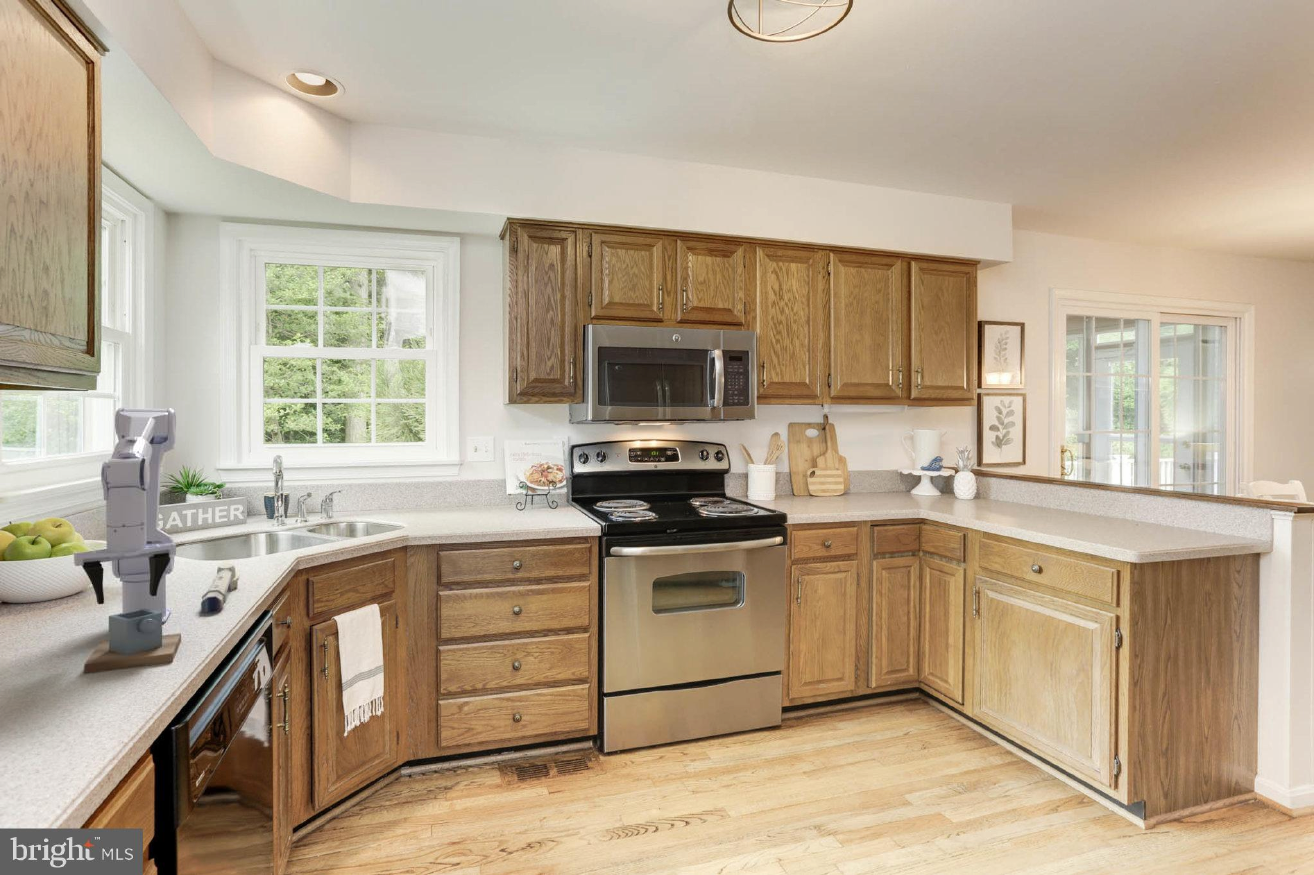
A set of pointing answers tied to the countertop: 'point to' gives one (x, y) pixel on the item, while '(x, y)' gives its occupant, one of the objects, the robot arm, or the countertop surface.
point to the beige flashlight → (220, 588)
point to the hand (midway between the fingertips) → (127, 598)
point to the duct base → (132, 656)
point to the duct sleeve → (135, 631)
